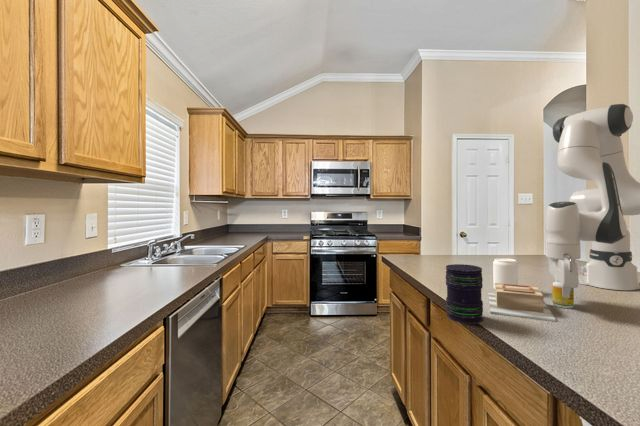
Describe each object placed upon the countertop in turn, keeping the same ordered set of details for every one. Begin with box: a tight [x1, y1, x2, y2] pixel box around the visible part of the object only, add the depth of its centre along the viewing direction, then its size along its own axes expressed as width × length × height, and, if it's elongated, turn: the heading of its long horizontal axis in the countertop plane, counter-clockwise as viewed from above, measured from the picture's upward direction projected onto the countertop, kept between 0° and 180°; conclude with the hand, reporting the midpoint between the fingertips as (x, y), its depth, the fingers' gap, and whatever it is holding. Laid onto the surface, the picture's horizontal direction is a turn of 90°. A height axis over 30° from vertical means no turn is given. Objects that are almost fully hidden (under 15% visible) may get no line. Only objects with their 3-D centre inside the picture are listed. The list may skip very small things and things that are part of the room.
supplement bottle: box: [552, 276, 575, 309], centre depth 98 cm, size 5×5×10 cm
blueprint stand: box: [487, 283, 556, 322], centre depth 98 cm, size 22×16×6 cm
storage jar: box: [445, 263, 484, 325], centre depth 89 cm, size 10×10×15 cm
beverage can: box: [492, 257, 519, 290], centre depth 116 cm, size 8×8×12 cm
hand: (562, 294), depth 98 cm, fingers closed on supplement bottle, 5 cm apart
